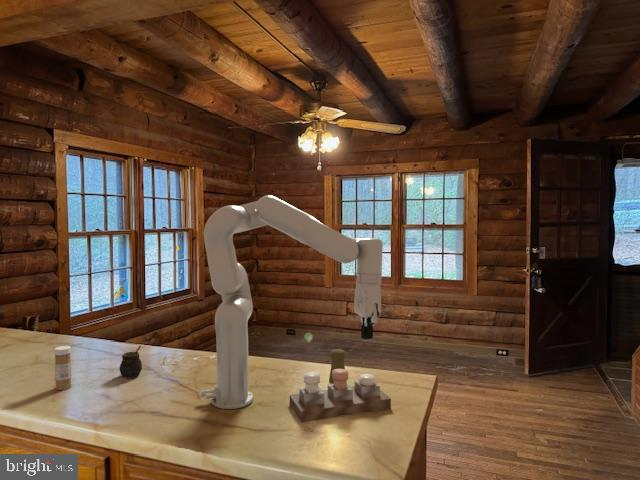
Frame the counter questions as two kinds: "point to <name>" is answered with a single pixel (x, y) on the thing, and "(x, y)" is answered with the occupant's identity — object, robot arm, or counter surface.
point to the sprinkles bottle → (62, 367)
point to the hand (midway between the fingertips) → (366, 338)
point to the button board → (338, 402)
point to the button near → (311, 382)
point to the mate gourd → (130, 364)
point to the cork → (337, 361)
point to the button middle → (340, 378)
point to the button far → (367, 379)
